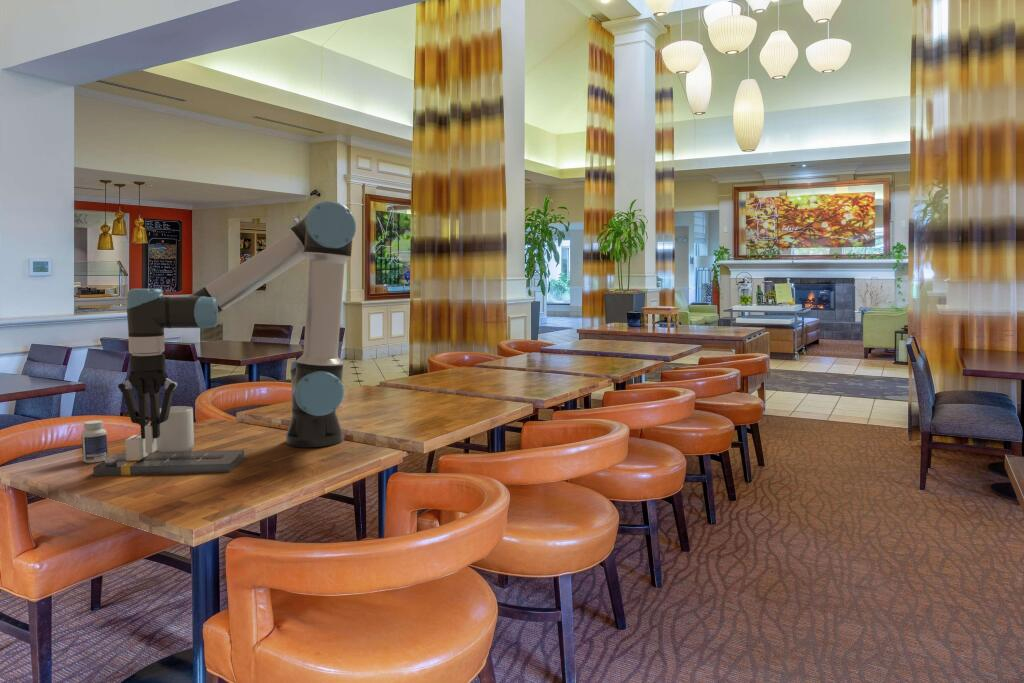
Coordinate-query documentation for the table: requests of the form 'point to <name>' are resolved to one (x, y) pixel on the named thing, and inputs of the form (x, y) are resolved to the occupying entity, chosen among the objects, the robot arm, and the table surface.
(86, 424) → the pill bottle
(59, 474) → the table surface
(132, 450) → the fader tab
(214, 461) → the console board
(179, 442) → the mug
